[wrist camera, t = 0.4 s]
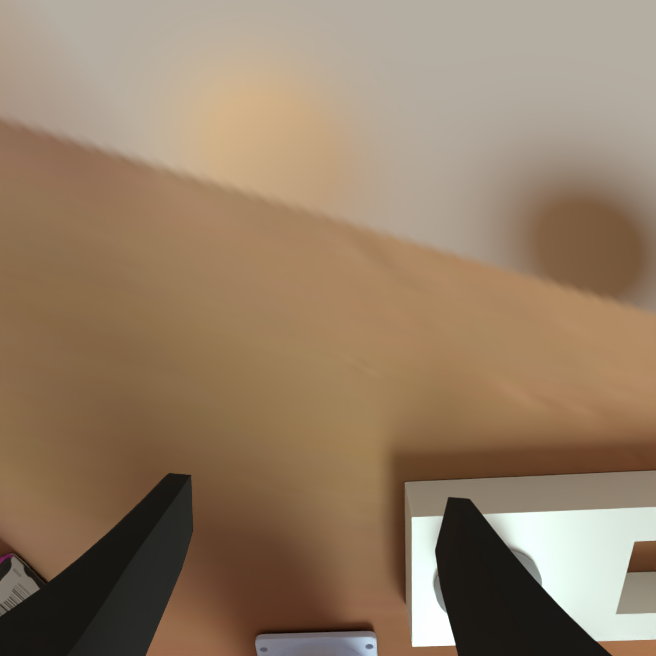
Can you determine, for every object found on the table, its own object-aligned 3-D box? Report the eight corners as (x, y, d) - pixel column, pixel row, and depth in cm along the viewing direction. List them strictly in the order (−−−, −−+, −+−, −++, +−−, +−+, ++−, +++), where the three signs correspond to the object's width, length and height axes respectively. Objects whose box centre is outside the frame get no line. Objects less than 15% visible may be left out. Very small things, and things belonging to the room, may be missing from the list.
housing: (697, 595, 27) (789, 710, 22) (405, 605, 28) (423, 718, 22) (742, 466, 23) (869, 565, 18) (404, 481, 24) (424, 581, 19)
